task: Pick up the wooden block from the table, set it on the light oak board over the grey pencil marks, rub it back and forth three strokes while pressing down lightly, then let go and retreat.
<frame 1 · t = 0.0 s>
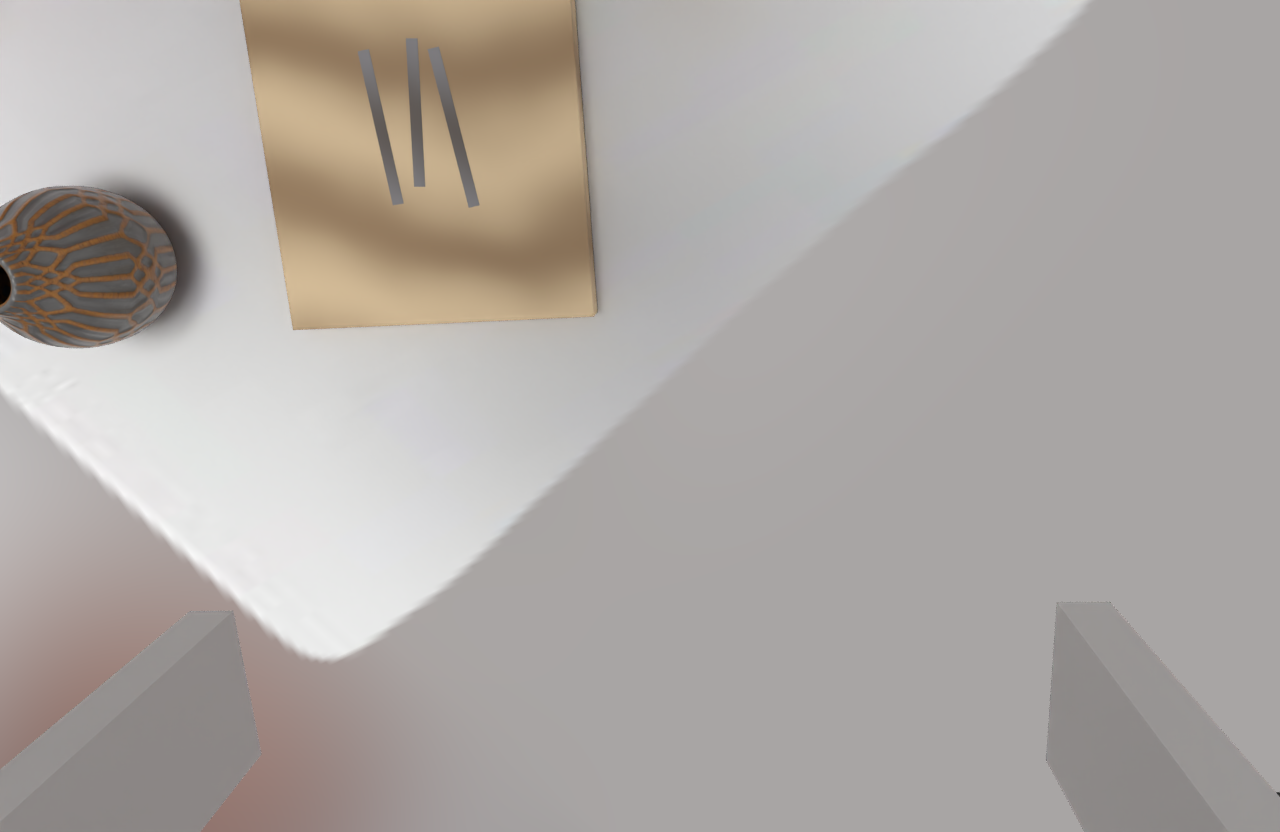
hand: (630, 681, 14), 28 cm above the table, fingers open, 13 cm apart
board: (417, 54, 39), on the table
vase: (134, 258, 43), on the table
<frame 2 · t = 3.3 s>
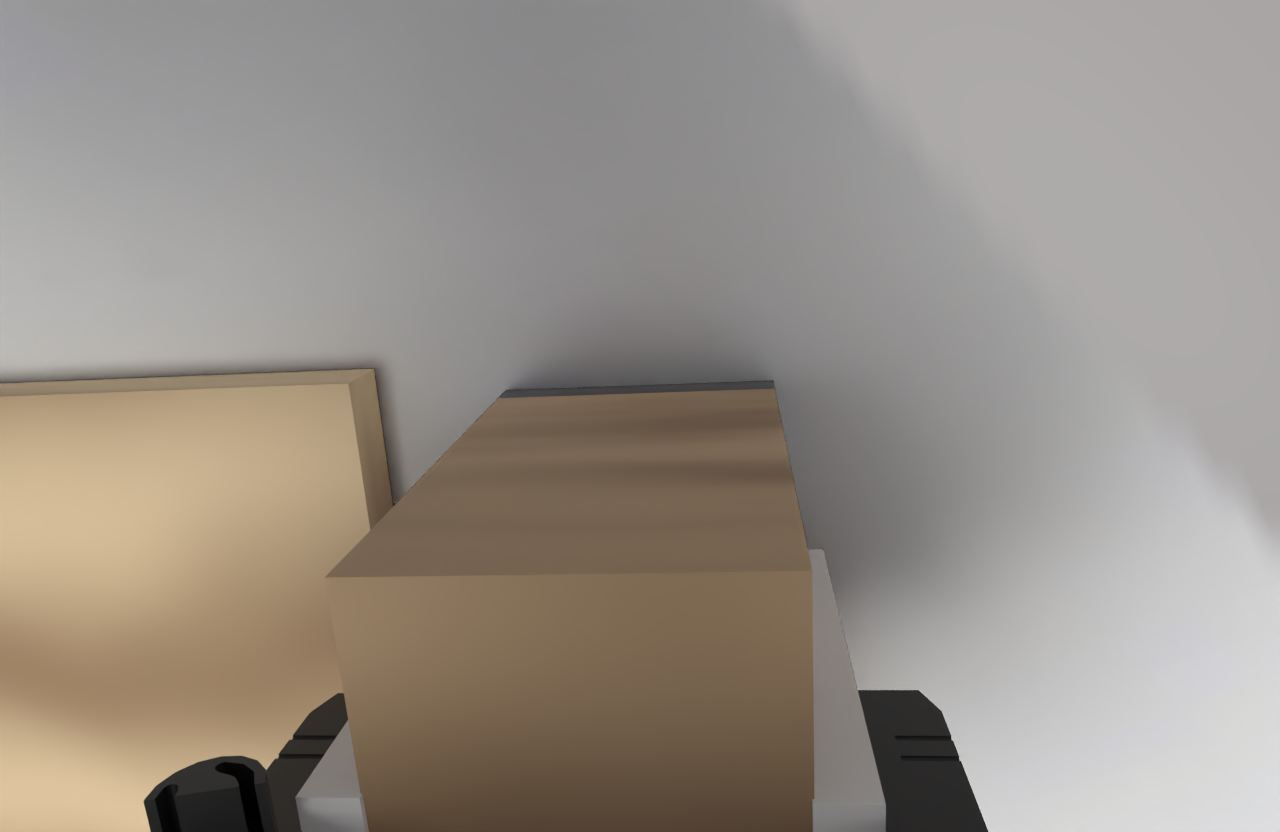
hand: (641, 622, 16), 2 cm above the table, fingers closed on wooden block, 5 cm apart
wooden block: (649, 582, 18), on the table, touching gripper
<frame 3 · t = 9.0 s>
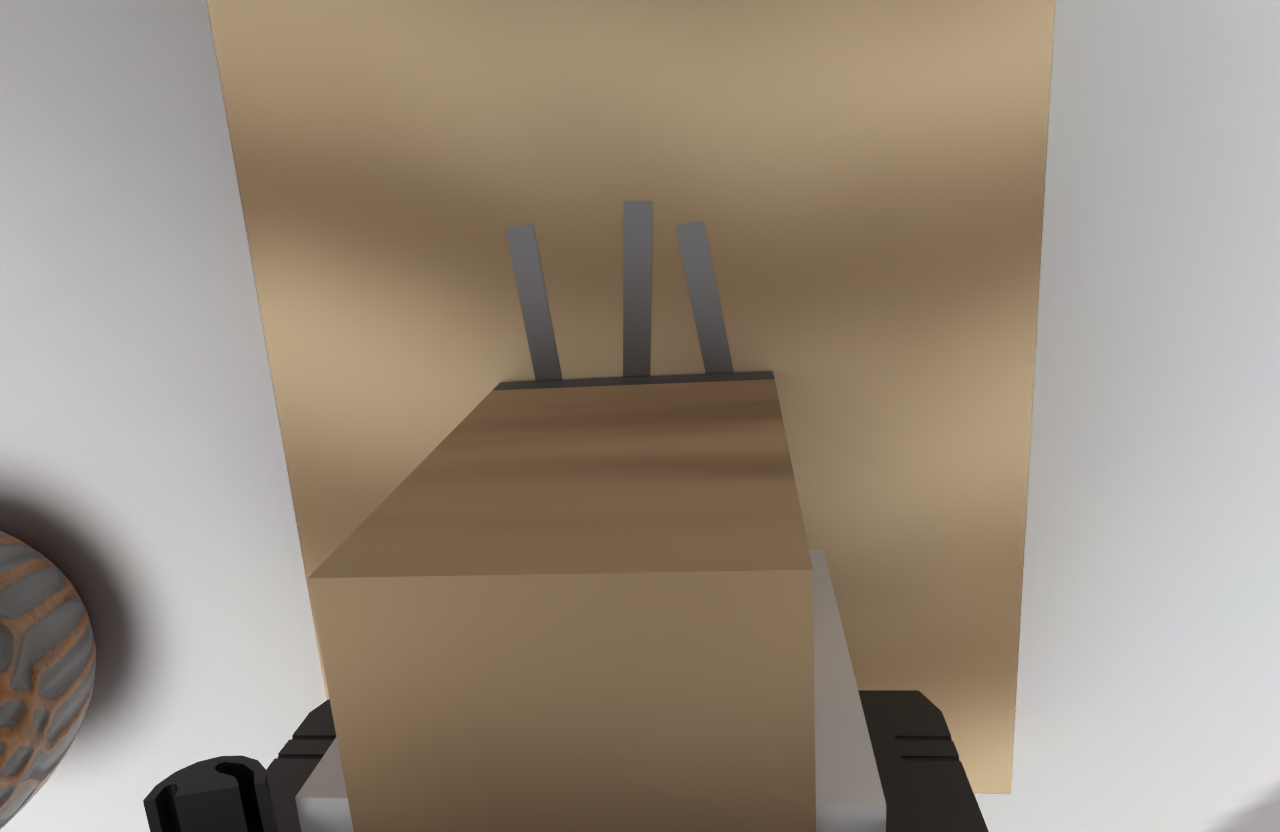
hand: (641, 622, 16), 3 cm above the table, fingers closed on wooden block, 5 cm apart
board: (634, 225, 17), on the table
wooden block: (647, 576, 18), point 1 cm above the table, touching gripper
vase: (14, 612, 21), on the table
when the fingers open (3 cm above the table, at t = 15.0 s): wooden block stays where it is, resting on board.
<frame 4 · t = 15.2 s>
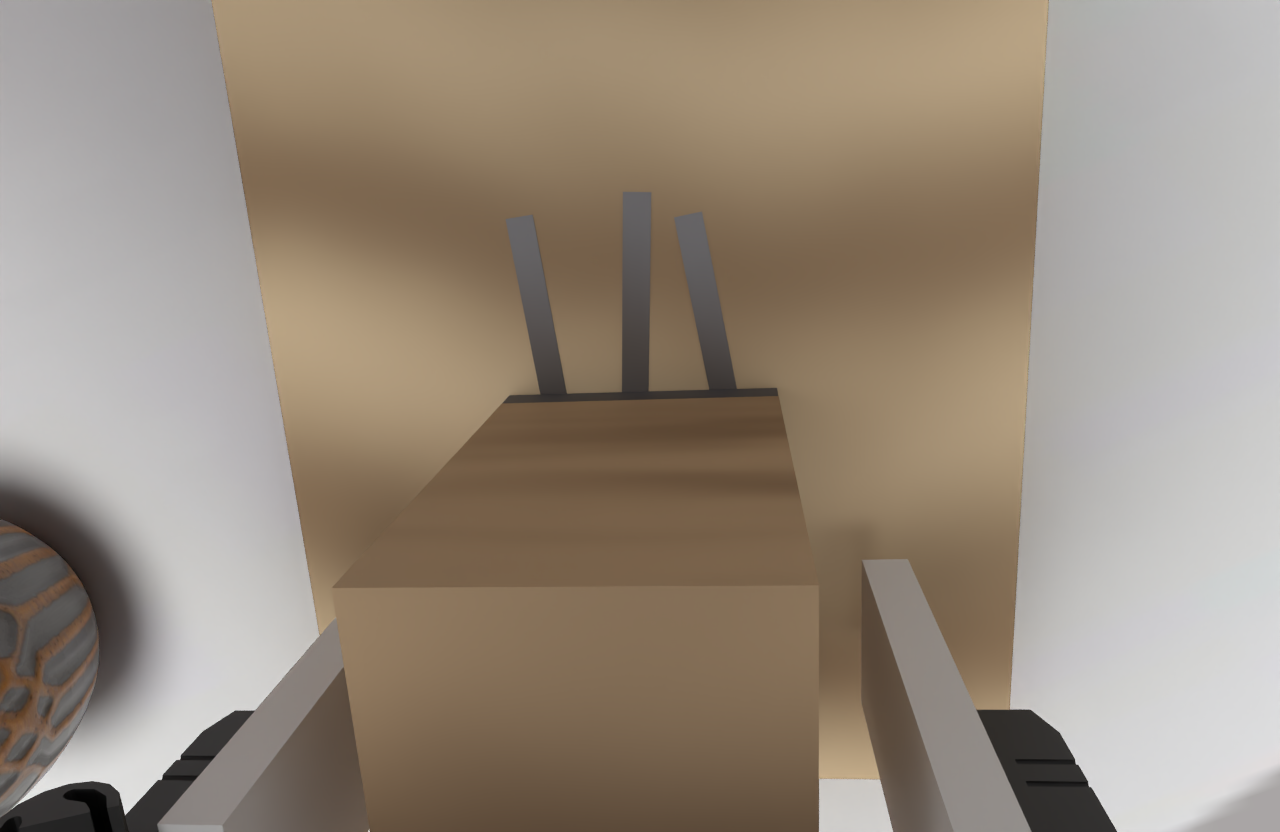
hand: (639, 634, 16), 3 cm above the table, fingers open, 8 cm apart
board: (633, 217, 17), on the table
wooden block: (651, 587, 18), point 1 cm above the table, touching board
vase: (18, 602, 21), on the table
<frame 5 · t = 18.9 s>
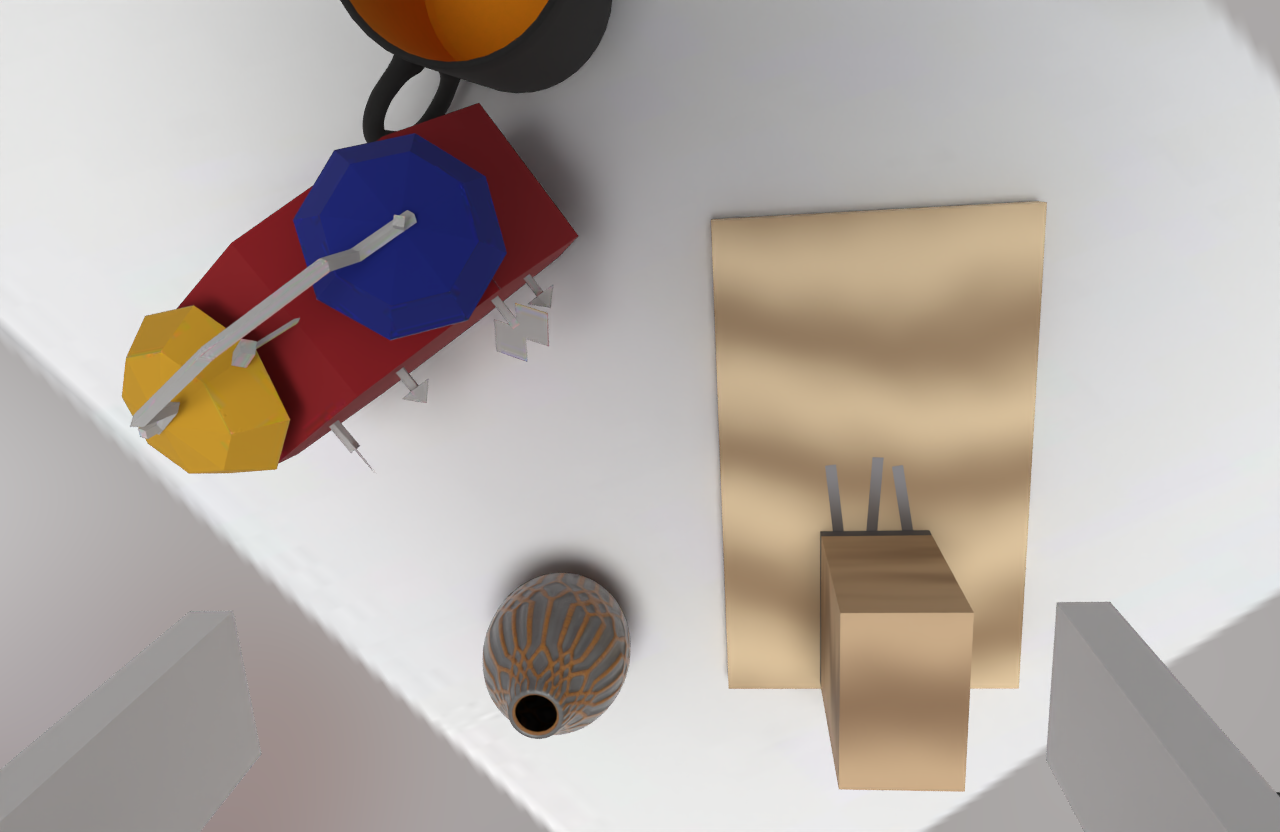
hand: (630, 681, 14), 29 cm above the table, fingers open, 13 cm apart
board: (869, 459, 43), on the table
wooden block: (872, 608, 43), point 1 cm above the table, touching board
vase: (570, 613, 47), on the table
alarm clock: (458, 287, 43), on the table
mug: (496, 31, 39), on the table
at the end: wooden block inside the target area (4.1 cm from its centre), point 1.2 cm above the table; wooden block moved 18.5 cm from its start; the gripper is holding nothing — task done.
